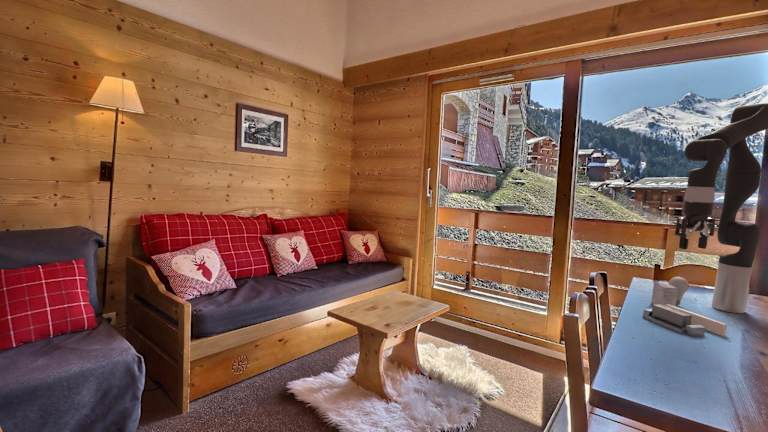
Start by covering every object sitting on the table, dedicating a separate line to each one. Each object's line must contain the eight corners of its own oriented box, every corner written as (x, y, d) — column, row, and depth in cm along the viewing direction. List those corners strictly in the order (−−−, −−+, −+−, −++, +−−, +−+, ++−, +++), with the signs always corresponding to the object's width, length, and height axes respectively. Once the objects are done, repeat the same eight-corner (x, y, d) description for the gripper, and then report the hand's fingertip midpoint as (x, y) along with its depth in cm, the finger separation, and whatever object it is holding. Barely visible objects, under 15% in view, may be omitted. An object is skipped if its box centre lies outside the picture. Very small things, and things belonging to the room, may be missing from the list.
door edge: (667, 314, 133) (669, 304, 133) (725, 335, 116) (727, 324, 116) (664, 314, 133) (665, 304, 132) (721, 335, 116) (723, 324, 115)
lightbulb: (681, 304, 147) (686, 276, 146) (688, 309, 141) (693, 280, 140) (663, 301, 149) (667, 274, 147) (669, 306, 143) (673, 277, 142)
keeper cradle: (657, 315, 131) (658, 308, 130) (707, 335, 115) (709, 327, 115) (639, 316, 129) (640, 309, 128) (688, 336, 113) (689, 328, 113)
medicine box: (675, 312, 136) (678, 288, 135) (661, 310, 137) (664, 287, 136) (663, 305, 144) (667, 282, 143) (650, 303, 145) (653, 281, 144)
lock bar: (658, 318, 128) (660, 304, 128) (689, 330, 118) (692, 315, 118) (650, 319, 127) (652, 304, 127) (681, 331, 118) (683, 315, 117)
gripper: (702, 199, 132) (696, 246, 134) (671, 199, 128) (665, 246, 130) (727, 201, 125) (720, 250, 127) (694, 201, 121) (688, 251, 123)
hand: (692, 248), depth 128 cm, fingers open, 8 cm apart
